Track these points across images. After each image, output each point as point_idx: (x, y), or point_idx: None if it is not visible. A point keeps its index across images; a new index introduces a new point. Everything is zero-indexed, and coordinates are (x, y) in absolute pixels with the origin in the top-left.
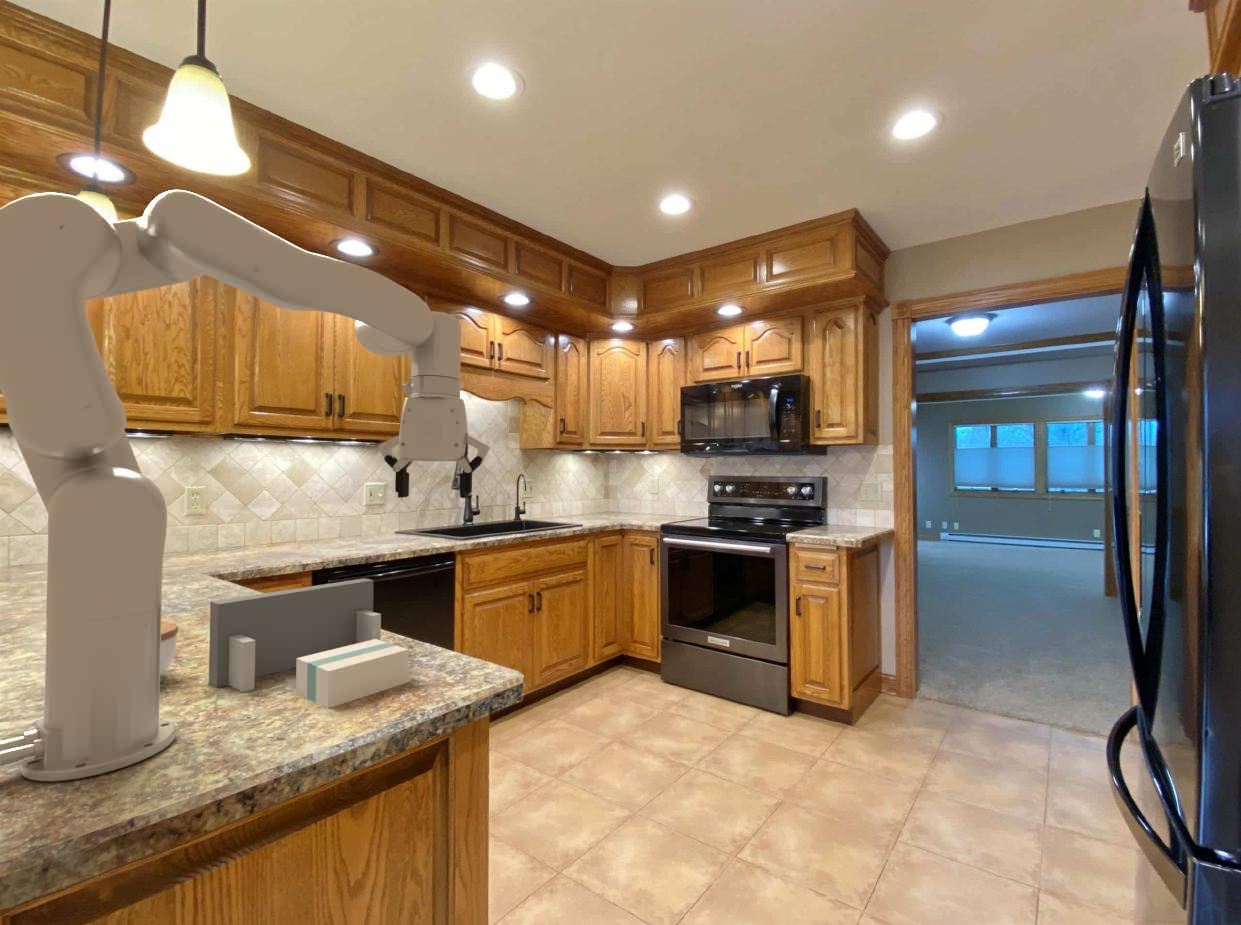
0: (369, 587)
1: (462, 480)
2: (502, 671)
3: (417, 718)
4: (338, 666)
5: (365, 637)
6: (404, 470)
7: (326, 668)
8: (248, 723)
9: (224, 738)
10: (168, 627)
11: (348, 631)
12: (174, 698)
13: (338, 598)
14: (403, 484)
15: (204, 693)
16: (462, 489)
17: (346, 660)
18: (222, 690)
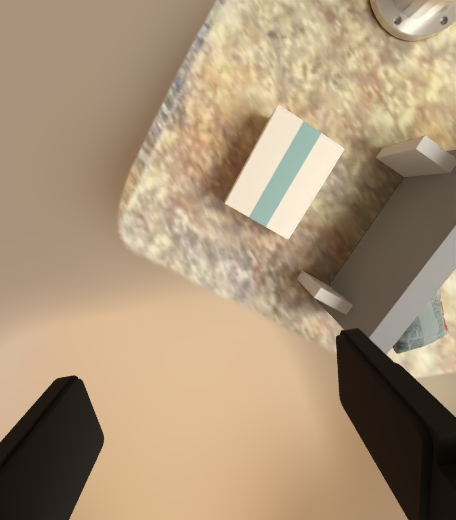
0: None
1: (3, 453)
2: (136, 248)
3: (164, 103)
4: (276, 124)
5: (321, 283)
6: (447, 502)
7: (286, 115)
8: (326, 67)
9: (327, 27)
10: None
11: (347, 286)
12: (442, 121)
13: (384, 292)
14: (368, 379)
15: None
16: (41, 403)
17: (278, 148)
18: None
